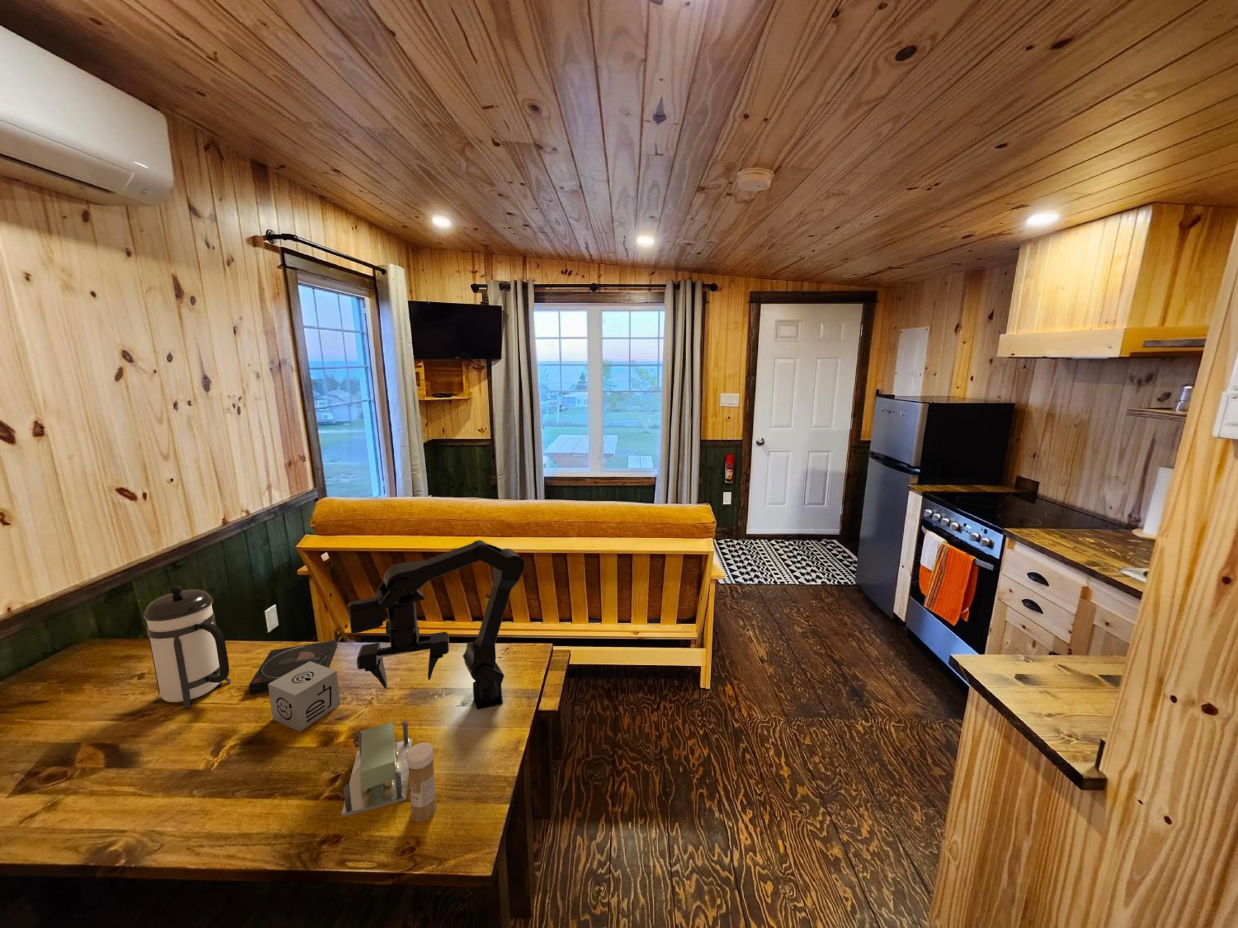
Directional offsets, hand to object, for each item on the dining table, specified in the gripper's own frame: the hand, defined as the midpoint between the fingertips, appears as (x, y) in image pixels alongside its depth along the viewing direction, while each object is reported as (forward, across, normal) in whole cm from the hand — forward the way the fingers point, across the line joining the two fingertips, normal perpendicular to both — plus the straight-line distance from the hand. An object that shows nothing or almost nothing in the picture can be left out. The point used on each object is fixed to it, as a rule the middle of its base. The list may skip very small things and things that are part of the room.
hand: (407, 682), depth 108 cm
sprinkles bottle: (+12, -4, +24) cm, 28 cm away
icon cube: (+12, +24, -14) cm, 31 cm away
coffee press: (+12, +53, -32) cm, 63 cm away
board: (+8, +5, +13) cm, 16 cm away
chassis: (+12, +5, +13) cm, 18 cm away
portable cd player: (+13, +32, -34) cm, 49 cm away
